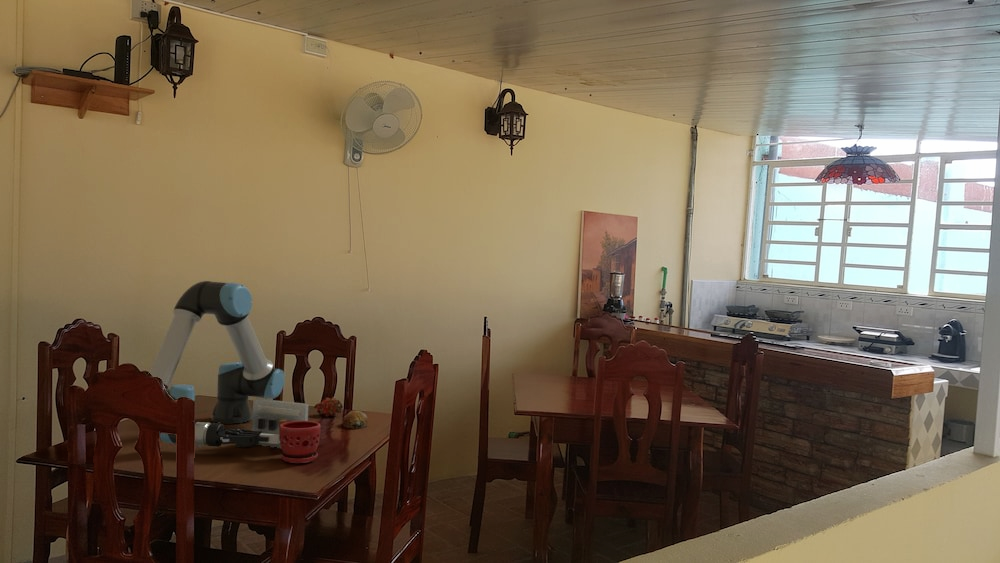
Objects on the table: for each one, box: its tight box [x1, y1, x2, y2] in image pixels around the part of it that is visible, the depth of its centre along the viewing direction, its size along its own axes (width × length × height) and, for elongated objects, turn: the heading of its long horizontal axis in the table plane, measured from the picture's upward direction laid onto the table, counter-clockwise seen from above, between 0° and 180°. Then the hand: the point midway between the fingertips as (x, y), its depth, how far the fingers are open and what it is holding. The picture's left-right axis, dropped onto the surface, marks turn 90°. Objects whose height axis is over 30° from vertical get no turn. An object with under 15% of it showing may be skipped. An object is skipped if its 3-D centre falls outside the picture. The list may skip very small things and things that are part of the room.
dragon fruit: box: [313, 396, 344, 417], centre depth 303 cm, size 8×8×12 cm
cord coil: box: [235, 443, 256, 449], centre depth 250 cm, size 6×6×2 cm
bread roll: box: [342, 410, 369, 430], centre depth 288 cm, size 10×10×8 cm
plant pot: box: [279, 420, 321, 464], centre depth 237 cm, size 13×13×12 cm
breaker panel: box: [251, 397, 309, 449], centre depth 250 cm, size 20×3×16 cm, turn 78°
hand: (279, 439), depth 237 cm, fingers closed
